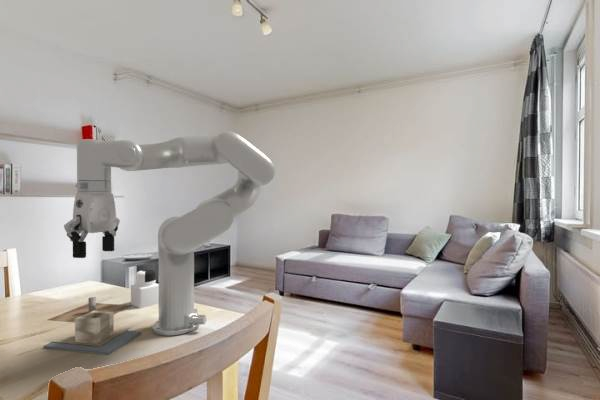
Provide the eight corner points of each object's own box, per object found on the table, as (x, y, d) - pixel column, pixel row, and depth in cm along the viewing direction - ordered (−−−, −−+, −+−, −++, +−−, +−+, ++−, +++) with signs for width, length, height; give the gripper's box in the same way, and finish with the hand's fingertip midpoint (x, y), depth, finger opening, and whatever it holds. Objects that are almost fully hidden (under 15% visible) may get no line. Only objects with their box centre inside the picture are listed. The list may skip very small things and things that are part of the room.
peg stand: (132, 307, 111) (132, 292, 111) (94, 326, 95) (94, 308, 95) (90, 304, 114) (90, 289, 113) (47, 322, 98) (47, 304, 98)
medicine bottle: (151, 300, 118) (151, 267, 118) (161, 305, 114) (161, 270, 114) (130, 306, 113) (130, 270, 113) (140, 310, 108) (140, 274, 108)
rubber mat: (141, 333, 90) (140, 331, 90) (108, 354, 79) (108, 352, 79) (83, 328, 93) (83, 326, 93) (43, 348, 82) (43, 345, 82)
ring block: (113, 334, 88) (113, 311, 88) (96, 344, 83) (95, 320, 82) (93, 332, 90) (93, 310, 89) (75, 342, 84) (75, 318, 84)
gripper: (80, 187, 77) (80, 261, 77) (129, 188, 94) (129, 249, 94) (51, 187, 78) (52, 260, 78) (105, 188, 95) (106, 248, 95)
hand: (94, 254), depth 86 cm, fingers open, 9 cm apart
